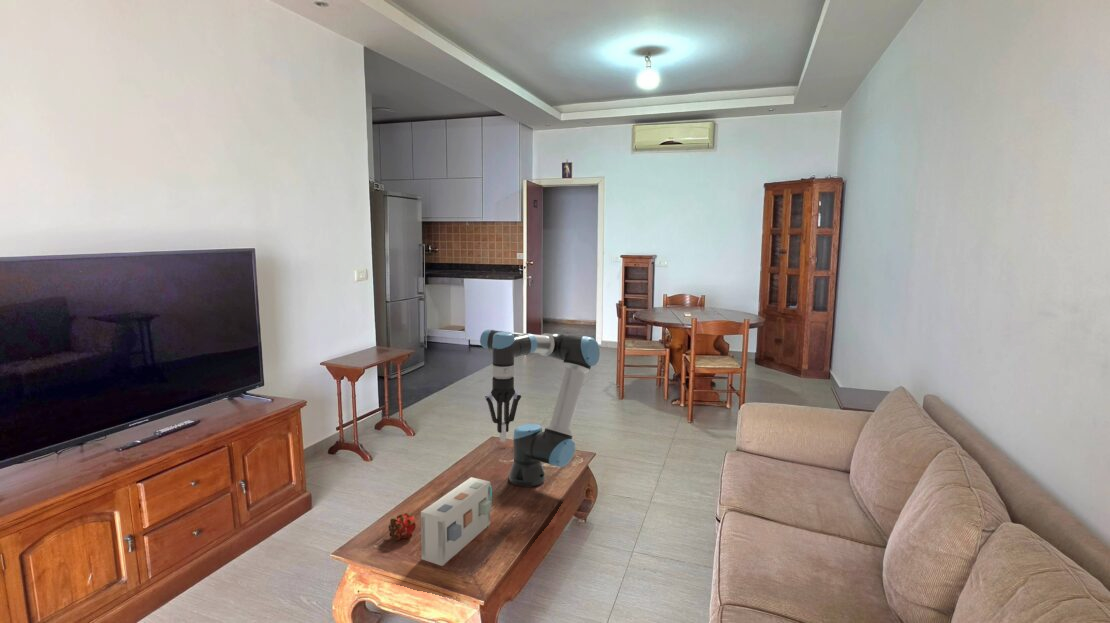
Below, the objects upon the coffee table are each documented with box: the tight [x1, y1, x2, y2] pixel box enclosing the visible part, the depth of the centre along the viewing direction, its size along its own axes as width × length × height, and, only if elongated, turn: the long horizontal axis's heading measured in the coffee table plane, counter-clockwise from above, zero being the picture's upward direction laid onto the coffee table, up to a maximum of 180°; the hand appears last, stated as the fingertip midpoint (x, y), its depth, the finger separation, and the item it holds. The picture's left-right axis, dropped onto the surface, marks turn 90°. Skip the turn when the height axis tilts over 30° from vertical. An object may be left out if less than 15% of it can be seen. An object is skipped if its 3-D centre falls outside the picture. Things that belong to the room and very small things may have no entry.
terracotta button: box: [463, 511, 472, 526], centre depth 183 cm, size 4×5×4 cm
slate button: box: [447, 523, 462, 541], centre depth 174 cm, size 4×5×4 cm
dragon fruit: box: [388, 512, 417, 541], centre depth 187 cm, size 8×8×12 cm
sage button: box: [479, 499, 492, 515], centre depth 190 cm, size 4×5×4 cm
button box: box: [420, 476, 491, 567], centre depth 184 cm, size 28×8×16 cm, turn 155°
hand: (502, 440), depth 197 cm, fingers closed
